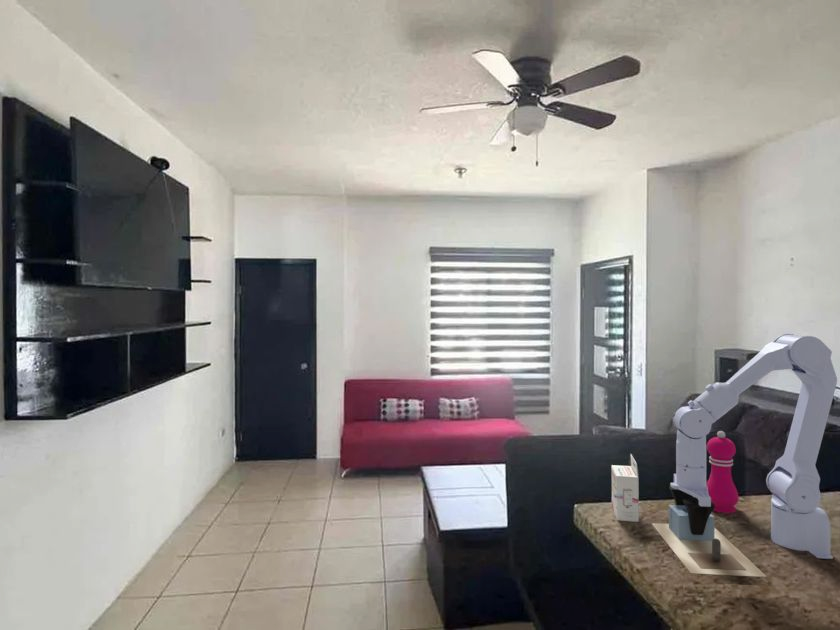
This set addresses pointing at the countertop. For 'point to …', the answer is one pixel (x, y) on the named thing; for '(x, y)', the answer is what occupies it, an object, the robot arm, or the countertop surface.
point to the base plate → (709, 555)
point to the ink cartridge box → (625, 491)
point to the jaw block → (682, 526)
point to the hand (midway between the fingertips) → (690, 527)
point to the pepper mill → (722, 474)
